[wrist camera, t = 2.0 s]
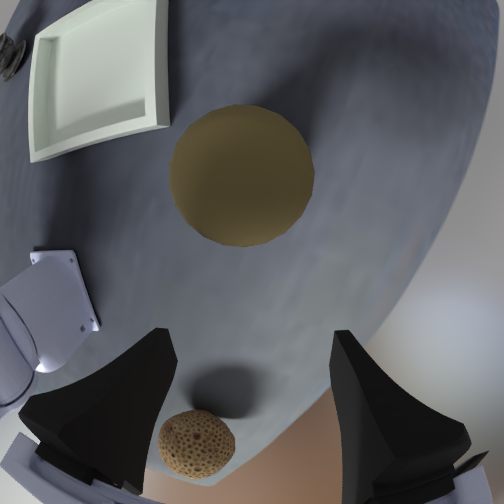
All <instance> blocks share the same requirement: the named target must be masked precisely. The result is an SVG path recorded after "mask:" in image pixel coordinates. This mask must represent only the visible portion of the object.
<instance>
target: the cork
mask: <svg viewBox="0 0 504 504" xmlns="http://www.w3.org/2000/svg"><path fill="white" fill-rule="evenodd" d="M314 173H315V172H314V167H313V162H312V157H311V153H310V149H309V148H308V146H307V144H306V142H305V141H304V139H303V137H302V136H301V134H300V132H299V131H298V129H296V128H295V127H294V126H293V125H292V124H291V123H289V122H288V121H287V120H286V119H285V118H283V117H282V116H281V115H280V114H277V113H275V112H272V111H270V110H267V109H265V108H262V107H260V106H253V105H231V106H227V107H224V108H220V109H217V110H213V111H211V112H209V113H208V114H206V115H205V116H203V117H202V118H200V119H199V120H197V121H196V122H194V123H193V124H192V125H190V127H189V128H188V129H187V130H186V132H185V133H184V134H183V136H182V137H181V138H180V140H179V141H178V142H177V144H176V147H175V150H174V153H173V156H172V159H171V162H170V180H169V185H170V189H171V192H172V196H173V199H174V202H175V206H176V207H177V209H178V210H179V212H180V213H181V215H182V216H183V218H184V219H185V221H186V222H187V223H188V224H189V225H190V226H191V227H192V228H194V229H195V230H196V231H197V232H199V233H200V234H201V235H202V236H203V237H206V238H208V239H210V240H213V241H215V242H218V243H220V244H222V245H229V246H239V247H248V246H253V245H258V244H263V243H267V242H269V241H271V240H272V239H274V238H276V237H278V236H280V235H282V234H284V233H285V232H286V231H287V230H288V229H289V228H290V227H291V226H292V225H293V224H294V223H295V222H296V221H297V220H298V219H299V218H300V217H301V216H302V214H303V212H304V210H305V208H306V206H307V204H308V202H309V200H310V198H311V196H312V190H313V182H314Z"/></svg>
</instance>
